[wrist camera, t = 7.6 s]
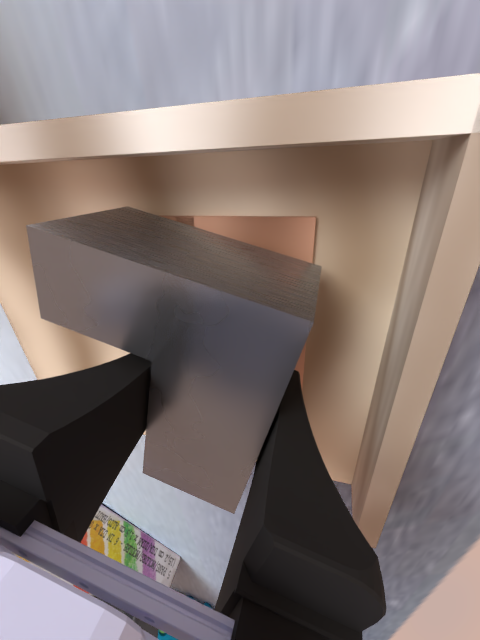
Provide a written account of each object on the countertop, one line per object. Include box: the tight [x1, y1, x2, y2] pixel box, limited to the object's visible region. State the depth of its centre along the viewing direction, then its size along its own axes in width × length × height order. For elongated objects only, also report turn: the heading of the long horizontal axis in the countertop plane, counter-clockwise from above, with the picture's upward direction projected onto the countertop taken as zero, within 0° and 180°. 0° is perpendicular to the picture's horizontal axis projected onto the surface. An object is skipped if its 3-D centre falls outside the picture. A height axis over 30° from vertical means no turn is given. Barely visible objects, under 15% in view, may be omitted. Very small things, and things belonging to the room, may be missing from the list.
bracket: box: [26, 206, 322, 514], centre depth 11 cm, size 9×8×4 cm
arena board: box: [0, 73, 480, 548], centre depth 14 cm, size 23×18×4 cm
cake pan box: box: [13, 504, 181, 638], centre depth 24 cm, size 19×5×18 cm, turn 54°
